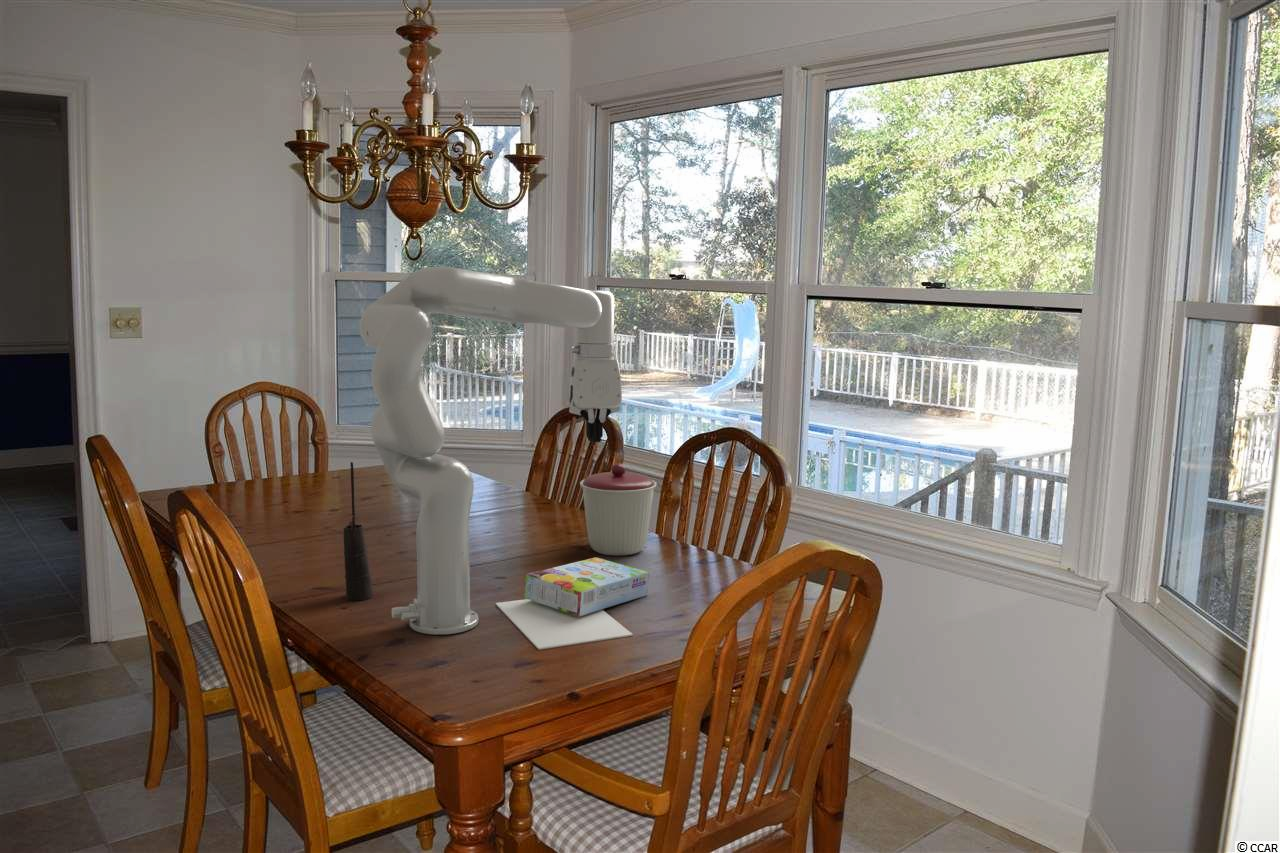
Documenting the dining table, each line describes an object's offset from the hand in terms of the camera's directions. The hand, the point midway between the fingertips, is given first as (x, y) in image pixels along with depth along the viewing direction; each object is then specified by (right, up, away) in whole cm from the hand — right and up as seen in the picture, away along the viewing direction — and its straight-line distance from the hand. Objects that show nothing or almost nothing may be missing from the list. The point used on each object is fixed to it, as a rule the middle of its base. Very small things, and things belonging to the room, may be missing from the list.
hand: (594, 441), depth 204 cm
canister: (+4, -27, +33) cm, 43 cm away
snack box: (+5, -30, -9) cm, 32 cm away
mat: (-6, -34, -15) cm, 37 cm away
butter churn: (-48, -31, -3) cm, 57 cm away
